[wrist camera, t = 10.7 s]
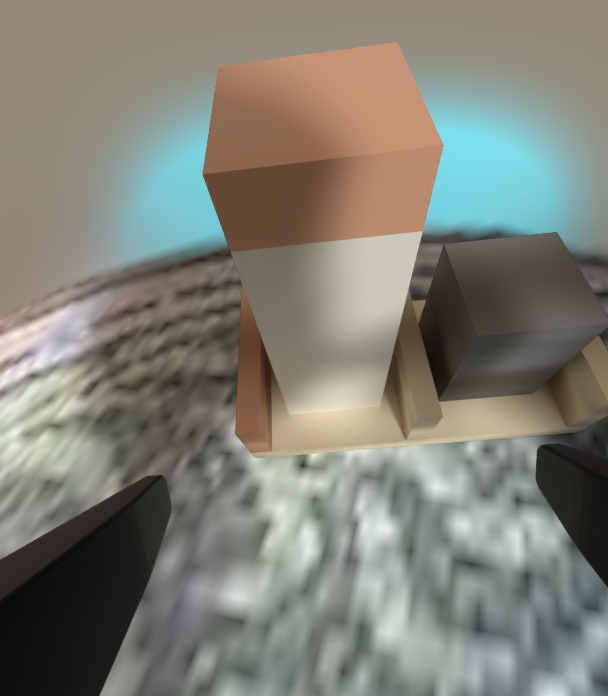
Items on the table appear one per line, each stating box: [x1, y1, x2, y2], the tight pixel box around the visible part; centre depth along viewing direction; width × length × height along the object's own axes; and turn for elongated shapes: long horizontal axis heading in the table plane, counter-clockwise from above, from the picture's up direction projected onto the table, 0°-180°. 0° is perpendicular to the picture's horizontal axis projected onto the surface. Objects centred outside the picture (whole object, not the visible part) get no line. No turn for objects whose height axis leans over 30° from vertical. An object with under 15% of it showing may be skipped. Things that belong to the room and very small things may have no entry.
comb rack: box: [235, 232, 608, 458], centre depth 17 cm, size 8×16×7 cm, turn 93°
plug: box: [203, 42, 443, 414], centre depth 13 cm, size 4×4×13 cm
